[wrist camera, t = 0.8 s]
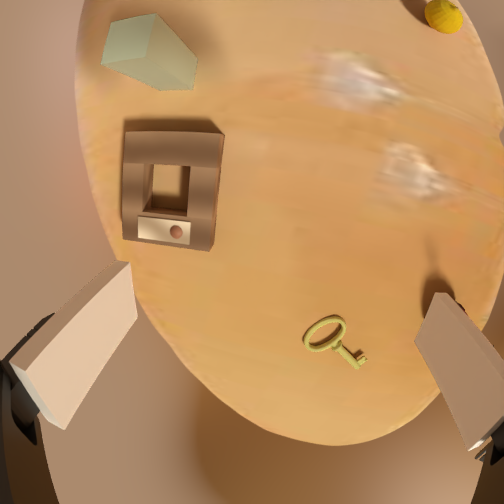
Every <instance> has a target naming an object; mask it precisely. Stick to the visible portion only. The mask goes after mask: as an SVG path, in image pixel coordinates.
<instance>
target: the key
mask: <svg viewBox="0 0 504 504" xmlns="http://www.w3.org/2000/svg"><path fill="white" fill-rule="evenodd" d="M332 322H338V323H340V324H341V326H342V327H341V329H340V331H339V332H338V333H337V334H336V335H335V336H334V337H333V338H332V339H330V340H329V341H327V342H325V343H323V344H321V345H317V346H313V345H311V344H309V339H310V337H311V336H312V334H313V333H314V332H315V331H316V330H317V329H319V328H320V327H322V326H323V325H326V324H328V323H332ZM345 332H346V323H345V321H344V320H343V319H342V318H341V317H338V316H332V317H327V318H324V319H322V320H320V321H319V322H317V323H316V324H314V325H313V326H312V327H311V328H310V329H309V330H308V331H307V332H306V334H305V336H304V344H305V347H306V348H307V349H308V350H310V351H313V352H318V351H323V350H325V349H328V348H329V347H331V346H332V350H333V351H337V352H338V353H339V354H340V355H341V356H342V357H343V358H344V359H345V360H347V361H348V362H349V363H350V364H351V365H352V366H353V367H354V368H355V369H356V370H357V369H359V368H360V366H361V365H362V364H363V363H365V362H366V361H367V358H366V359H365V356H362V357H361V358H360V359H358V360H356V359H355V358H354V357H353V356H352V355H351V354H350V353H349V352H348V351H347V350H346V349H345V348H344V347H343V346H342V342H341V341H339V340H340V339H341V338H342V337H343V335H344V333H345Z"/></svg>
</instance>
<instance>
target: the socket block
mask: <svg viewBox="0 0 504 504" xmlns="http://www.w3.org/2000/svg"><path fill="white" fill-rule="evenodd" d="M224 137H225V135H222V134H218V133H203V132H178V131H132V132H126V133H125V145H124V159H123V181H122V231H123V239H124V240H131V241H138V242H145V243H152V244H159V245H166V246H173V247H180V248H187V249H194V250H201V251H208V252H209V251H210V250H211V248H212V246H213V245H214V238H215V226H216V214H217V203H218V193H219V182H220V173H221V163H222V154H223V145H224ZM154 164H162V165H179V166H191V169H190V181H189V194H188V209H187V211H186V210H177V209H167V208H158V207H152V186H153V168H154Z"/></svg>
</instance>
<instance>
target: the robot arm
mask: <svg viewBox="0 0 504 504" xmlns="http://www.w3.org/2000/svg"><path fill="white" fill-rule="evenodd" d="M137 318H138V316H137V310H136V304H135V297H134V290H133V283H132V275H131V266H130V262H123V261H116V260H115V261H114V262H112V263H111V264H110V265H109V266H108V267H106V268H105V269H104V270H103V271H102V272H100V273H99V274H98V275H97V276H96V277H95V278H94V279H92V280H91V281H90V282H89V283H88V284H87V285H86V286H84V287H83V288H82V289H81V290H80V291H79V292H78V293H77V294H75V295H74V296H73V297H72V298H71V299H70V300H69V301H68V302H67V303H66V304H65V305H64V306H63V307H61V308H60V309H59V310H58V311H57V312H56V313H52V314H51V315H49V316H47V317H45V318H43V319H42V320H41V321H40V322H39V323H38V324H37V325H36V326H35V327H34V329H31V331H29V333H27V336H25V337H24V338H23V339H22V340H21V341H20V342H19V343H18V344H17V345H16V346H15V347H14V348H13V349H12V350H11V351H10V352H9V353H8V354H7V355H6V356H5V358H4V359H3V360H1V361H0V504H59V502H58V499H57V496H56V493H55V489H54V486H53V483H52V479H51V476H50V472H49V468H48V464H47V460H46V455H45V450H44V445H43V440H42V433H41V427H40V422H39V419H38V417H37V414H38V413H39V411H41V412H42V414H43V415H44V417H45V418H46V419H47V421H49V422H51V423H52V424H54V425H56V426H58V427H59V428H61V429H63V430H65V429H66V427H67V425H68V423H69V422H70V420H71V418H72V417H73V415H74V413H75V412H76V410H77V408H78V407H79V405H80V403H81V402H82V400H83V399H84V397H85V395H86V394H87V392H88V391H89V389H90V387H91V385H92V384H93V383H94V381H95V379H96V378H97V376H98V375H99V373H100V372H101V370H102V369H103V367H104V366H105V364H106V363H107V361H108V360H109V358H110V356H111V355H112V353H113V352H114V351H115V349H116V348H117V346H118V345H119V343H120V342H121V340H122V339H123V337H124V336H125V334H126V333H127V332H128V330H129V328H130V327H131V326H132V325H133V323H134V322H135V320H136V319H137ZM414 342H415V344H416V346H417V347H418V349H419V351H420V353H421V354H422V356H423V358H424V360H425V362H426V364H427V365H428V367H429V369H430V371H431V373H432V375H433V377H434V379H435V381H436V383H437V384H438V386H439V388H440V390H441V392H442V394H443V396H444V399H445V401H446V403H447V405H448V407H449V409H450V411H451V414H452V416H453V418H454V420H455V422H456V425H457V427H458V429H459V432H460V434H461V436H462V439H463V441H464V444H465V446H466V449H467V451H469V450H471V449H473V448H476V447H478V446H480V445H481V444H482V443H483V442H484V441H485V440H486V439H487V438H489V437H490V436H491V437H492V441H491V442H490V443H488V444H487V445H486V446H485V447H484V448H483V449H482V450H481V451H480V452H479V453H478V454H477V455H476V457H475V459H477V458H478V457H480V456H481V455H482V454H483V453H486V454H485V455H483V456H482V457H481V458H480V461H483V466H482V470H481V474H480V477H479V481H478V484H477V487H476V490H475V493H474V496H473V499H472V502H471V504H504V361H503V359H502V358H501V356H500V355H499V354H498V353H497V351H496V350H495V349H494V347H493V346H492V345H491V343H490V342H489V341H488V340H487V338H486V337H485V336H484V335H483V334H482V332H481V331H480V330H479V329H478V327H477V326H476V325H475V324H474V323H473V321H472V320H471V319H470V318H469V317H468V316H467V314H466V313H465V312H464V311H463V310H462V309H461V308H460V307H459V306H458V304H457V303H456V302H455V301H454V300H453V299H452V298H451V297H450V296H449V295H448V294H447V293H438V292H435V294H434V297H433V299H432V302H431V304H430V307H429V309H428V312H427V314H426V316H425V319H424V321H423V323H422V326H421V328H420V330H419V332H418V334H417V336H416V339H415V341H414Z"/></svg>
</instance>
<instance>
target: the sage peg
mask: <svg viewBox="0 0 504 504" xmlns="http://www.w3.org/2000/svg"><path fill="white" fill-rule="evenodd" d="M197 62H198V58H197V57H196V56H195V55H194V54H193V53H192V51H191V50H190V49H189V48H188V47H187V46H186V45H185V43H184V42H183V41H182V40H181V39H180V38H179V37H178V36H177V35H176V34H175V32H174V31H173V30H172V29H171V28H170V27H169V26H168V25H167V24H166V23H165V22H164V21H163V20H162V19H161V18H160V16H159V15H158V14H157V13H153V14H147V15H142V16H137V17H132V18H127V19H123V20H118V21H114V22H111V25H110V28H109V32H108V35H107V39H106V43H105V47H104V51H103V55H102V60H101V64H100V65H103V66H105V67H108V68H110V69H113V70H115V71H118V72H120V73H122V74H125V75H127V76H129V77H132V78H134V79H136V80H138V81H140V82H143V83H145V84H147V85H149V86H151V87H153V88H155V89H158V90H160V91H167V90H193V86H194V80H195V74H196V68H197Z"/></svg>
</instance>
